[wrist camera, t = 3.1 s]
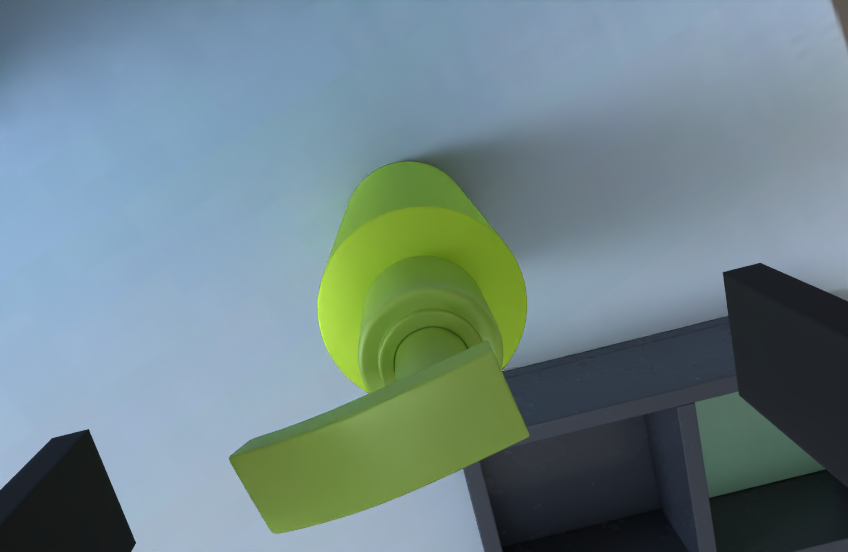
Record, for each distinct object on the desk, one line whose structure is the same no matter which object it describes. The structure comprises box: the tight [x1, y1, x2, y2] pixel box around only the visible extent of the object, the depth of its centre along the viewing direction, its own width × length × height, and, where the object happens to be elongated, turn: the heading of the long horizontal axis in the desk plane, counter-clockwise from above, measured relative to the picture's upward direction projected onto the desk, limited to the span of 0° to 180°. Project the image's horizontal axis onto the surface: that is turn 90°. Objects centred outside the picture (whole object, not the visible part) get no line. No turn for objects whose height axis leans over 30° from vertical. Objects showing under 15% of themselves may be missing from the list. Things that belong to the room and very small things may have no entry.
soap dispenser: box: [229, 161, 530, 534], centre depth 22 cm, size 6×7×20 cm
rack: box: [463, 316, 848, 552], centre depth 33 cm, size 19×19×6 cm
